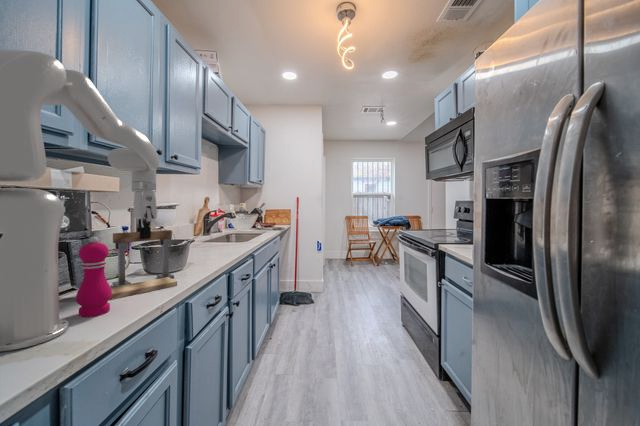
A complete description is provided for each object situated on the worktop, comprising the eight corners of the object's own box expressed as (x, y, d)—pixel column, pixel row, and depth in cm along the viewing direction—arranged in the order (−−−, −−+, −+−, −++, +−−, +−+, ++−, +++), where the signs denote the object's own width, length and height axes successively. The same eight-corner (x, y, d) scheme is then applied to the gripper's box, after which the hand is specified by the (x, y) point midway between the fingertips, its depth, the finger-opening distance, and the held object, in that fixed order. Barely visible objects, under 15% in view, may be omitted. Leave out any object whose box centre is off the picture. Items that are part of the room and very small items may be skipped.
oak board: (97, 302, 78) (97, 297, 78) (91, 295, 83) (91, 290, 83) (177, 285, 94) (177, 281, 94) (168, 281, 100) (168, 277, 100)
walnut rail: (114, 243, 90) (114, 233, 90) (112, 242, 92) (112, 233, 92) (171, 238, 104) (171, 230, 104) (169, 238, 106) (169, 230, 106)
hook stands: (117, 288, 90) (116, 243, 90) (112, 285, 94) (112, 241, 93) (174, 278, 104) (174, 238, 103) (168, 275, 108) (168, 237, 107)
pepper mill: (119, 308, 74) (118, 235, 73) (94, 319, 66) (93, 238, 66) (95, 306, 74) (94, 234, 74) (68, 317, 67) (66, 238, 67)
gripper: (163, 187, 95) (163, 239, 96) (148, 189, 106) (148, 236, 106) (139, 186, 90) (139, 241, 90) (125, 188, 100) (125, 237, 100)
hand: (143, 237), depth 98 cm, fingers closed on walnut rail, 2 cm apart
